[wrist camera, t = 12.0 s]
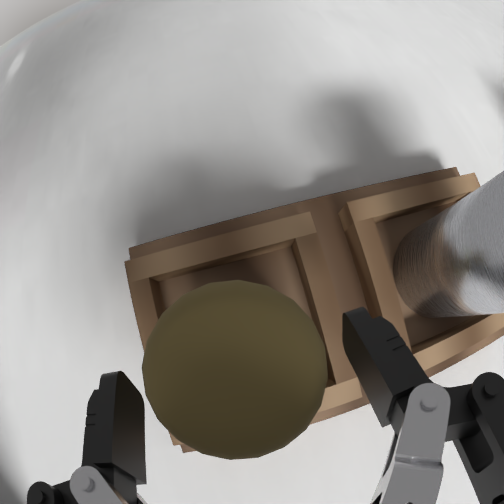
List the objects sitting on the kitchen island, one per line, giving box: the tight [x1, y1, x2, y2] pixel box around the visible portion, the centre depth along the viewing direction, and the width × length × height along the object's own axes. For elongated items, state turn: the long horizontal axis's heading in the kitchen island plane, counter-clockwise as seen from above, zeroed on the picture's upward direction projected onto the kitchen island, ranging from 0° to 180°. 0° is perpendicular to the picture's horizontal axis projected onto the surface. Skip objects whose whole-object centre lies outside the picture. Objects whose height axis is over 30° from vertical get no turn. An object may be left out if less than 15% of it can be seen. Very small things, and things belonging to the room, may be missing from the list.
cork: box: [142, 280, 328, 460], centre depth 12 cm, size 6×6×11 cm
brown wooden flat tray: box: [125, 167, 504, 453], centre depth 18 cm, size 24×13×4 cm, turn 105°
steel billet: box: [393, 171, 504, 318], centre depth 13 cm, size 6×6×11 cm
